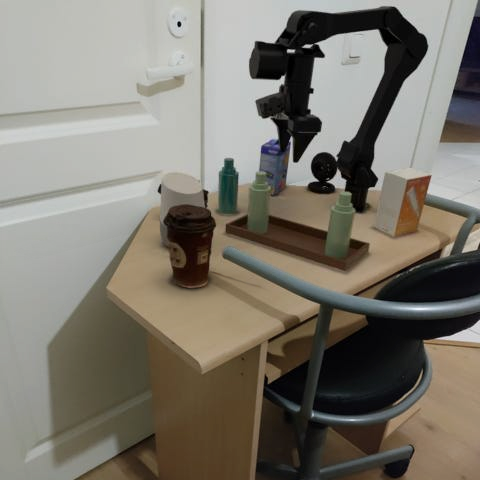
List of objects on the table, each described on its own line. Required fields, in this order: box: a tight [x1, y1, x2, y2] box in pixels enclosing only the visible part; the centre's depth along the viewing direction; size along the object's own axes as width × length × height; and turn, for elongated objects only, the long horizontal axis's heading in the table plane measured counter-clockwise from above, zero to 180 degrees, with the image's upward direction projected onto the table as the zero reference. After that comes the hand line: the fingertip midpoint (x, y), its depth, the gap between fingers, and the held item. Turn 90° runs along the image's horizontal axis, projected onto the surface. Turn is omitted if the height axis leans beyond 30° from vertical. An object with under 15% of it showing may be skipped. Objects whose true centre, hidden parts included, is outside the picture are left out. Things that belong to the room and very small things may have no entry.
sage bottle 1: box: [247, 170, 272, 234], centre depth 103 cm, size 5×5×12 cm
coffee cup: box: [163, 204, 217, 289], centre depth 83 cm, size 9×8×13 cm
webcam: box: [307, 151, 338, 194], centre depth 130 cm, size 8×8×10 cm
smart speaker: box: [159, 171, 205, 248], centre depth 95 cm, size 10×9×14 cm
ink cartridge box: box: [258, 138, 292, 196], centre depth 128 cm, size 10×6×14 cm, turn 158°
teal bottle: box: [217, 157, 240, 215], centre depth 112 cm, size 5×5×12 cm
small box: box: [373, 167, 433, 237], centre depth 107 cm, size 8×6×13 cm
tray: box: [225, 213, 371, 272], centre depth 101 cm, size 11×28×2 cm, turn 54°
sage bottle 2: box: [324, 191, 356, 259], centre depth 94 cm, size 5×5×12 cm
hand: (288, 157), depth 110 cm, fingers open, 9 cm apart
